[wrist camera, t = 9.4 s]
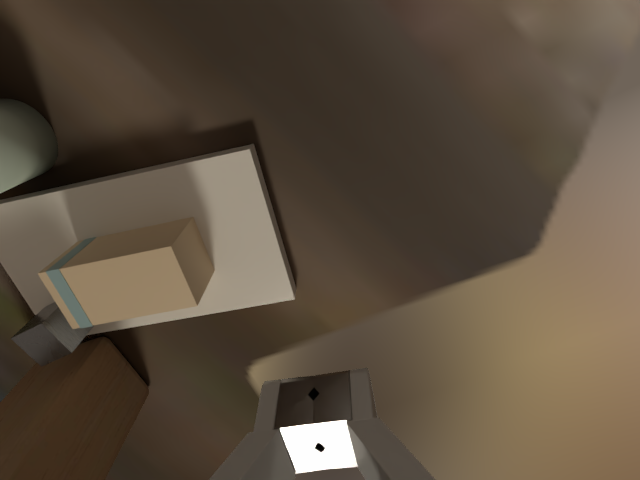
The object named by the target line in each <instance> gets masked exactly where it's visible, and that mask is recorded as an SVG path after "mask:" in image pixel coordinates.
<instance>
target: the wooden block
mask: <svg viewBox="0 0 640 480" xmlns="http://www.w3.org/2000/svg"><path fill="white" fill-rule="evenodd" d="M148 394H149V389H148V386H147V385H146V383H145V382H144V381H143V380H142V379H141V377H140V376H139V375H138V374H137V372H136V371H135V370H134V369H133V368H132V366H131V365H130V364H129V363H128V361H127V360H126V359H125V358H124V357H123V355H122V354H121V353H120V352H119V350H118V349H117V348H116V347H115V346H114V344H113V343H112V342H111V341H110V339H108V338H106V337H98V338H95V339H92V340H89V341H87V342H84V343H81V344H79V345H78V346H77V347H76V348H75V350H74V351H73V352H72V353H71V354H69V355H66V356H64V357H62V358H60V359H58V360H55V361H53V362H51V363H49V364H47V365H44V366H42V367H41V366H40V365H39V364H38V363H36V364H35V365H34V366H33V367H32V368H31V369H30V370H29V372H28V373H27V374H26V375H25V376H24V377H23V378H22V379H21V380H20V381H19V383H18V384H17V385H16V386H15V387H14V388H13V389H12V390H11V391H10V393H9V394H8V395H7V396H6V397H5V398H4V399H3V400H2V401H1V402H0V480H105V478H106V476H107V474H108V472H109V470H110V468H111V467H112V465H113V463H114V461H115V459H116V457H117V455H118V453H119V451H120V449H121V447H122V445H123V443H124V441H125V439H126V437H127V435H128V433H129V431H130V429H131V427H132V425H133V423H134V422H135V420H136V418H137V416H138V414H139V412H140V410H141V408H142V406H143V404H144V402H145V400H146V398H147V396H148Z"/></svg>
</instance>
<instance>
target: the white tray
mask: <svg viewBox="0 0 640 480" xmlns="http://www.w3.org/2000/svg"><path fill="white" fill-rule="evenodd" d="M190 217H194V220H195V222H196V225H197V227H198V230H199V232H200V235H201V237H202V240H203V242H204V245H205V247H206V250H207V252H208V255H209V257H210V260H211V262H212V265H213V267H214V270H215V271H214V273H213V275H212V277H211V280H210V282H209V284H208V286H207V288H206V290H205V292H204V294H203V296H202V298H201V300H200V302H199V304H198V306H196V307H190V308H185V309H179V310H174V311H169V312H163V313H158V314H152V315H147V316H141V317H136V318H131V319H125V320H120V321H114V322H109V323H104V324H98V325H94V327H93V328H92V329H91V330H90V332H89V333H88V334H87V335H91V334H97V333H102V332H108V331H114V330H120V329H126V328H131V327H137V326H143V325H149V324H155V323H160V322H166V321H172V320H178V319H184V318H189V317H195V316H201V315H207V314H213V313H218V312H224V311H230V310H236V309H242V308H247V307H253V306H259V305H265V304H271V303H276V302H282V301H288V300H294V299H295V295H296V286H295V282H294V279H293V276H292V272H291V269H290V265H289V262H288V259H287V255H286V252H285V248H284V245H283V242H282V238H281V235H280V231H279V228H278V225H277V221H276V218H275V214H274V211H273V208H272V204H271V201H270V197H269V194H268V191H267V187H266V184H265V180H264V177H263V174H262V170H261V167H260V163H259V160H258V157H257V153H256V150H255V146H254V144H250V145H246V146H241V147H237V148H232V149H228V150H223V151H219V152H214V153H210V154H205V155H201V156H196V157H192V158H187V159H183V160H178V161H174V162H169V163H165V164H160V165H155V166H151V167H146V168H142V169H137V170H133V171H128V172H124V173H119V174H115V175H110V176H106V177H101V178H97V179H92V180H88V181H83V182H79V183H74V184H70V185H65V186H61V187H56V188H52V189H47V190H43V191H38V192H34V193H29V194H25V195H20V196H16V197H11V198H7V199H2V200H0V263H1V264H2V266H3V267H4V269H5V270H6V272H7V273H8V275H9V276H10V278H11V279H12V281H13V282H14V284H15V285H16V287H17V288H18V290H19V292H20V293H21V295H22V296H23V298H24V299H25V301H26V302H27V304H28V305H29V307H30V308H31V310H32V311H33V313H34V314H35V315H37V314H38V313H39V312H40V311H41V310H42V309H43V308H44V307H46V306H48V305H50V304H52V303H54V302H55V301H54V299H53V297H52V296H51V294H50V293H49V291H48V289H47V288H46V286H45V285H44V283H43V281H42V280H41V278H40V277H39V275H38V273H39V272H40V271H41V270H43V269H44V268H45V267H46V266H48V265H49V264H50V263H51V262H53V261H54V260H55V259H56V258H58V257H59V256H60V255H61V254H63V253H64V252H65V251H66V250H68V249H69V248H70V247H71V246H73V245H74V244H75V243H76V242H77V241H82V240H85V239H88V238H93V237H101V236H105V235H110V234H115V233H120V232H124V231H129V230H134V229H138V228H143V227H148V226H153V225H157V224H162V223H167V222H171V221H176V220H181V219H186V218H190Z"/></svg>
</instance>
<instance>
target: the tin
mask: <svg viewBox="0 0 640 480" xmlns="http://www.w3.org/2000/svg"><path fill="white" fill-rule="evenodd" d="M93 327H94V325H93V326H92V327H86V328H77V329H72V327H71V326H70V324H69V323H68V321H67V320H66V318H65V316H64V315H63V313H62V312H61V310H60V308H59V307H58V305H57V304H56V302H54V303H52V304H50V305H48V306H46V307H44V308H43V309H42V310H41V311H40V312H39V313H38V314H37V315H35V316H34V317H33V318H32V319H31V320H30V321H29V322H28V323H27V324H26V325H25V326H24V327H23V328H22V329H21V330H19V331H18V332H17V333H16V334H15V335H14V336H13V337H12V338H11V339H12V340H13V341H14V342H15V343H16V344H17V345H19V346H20V347H21V348H22V349H23V350H24V351H25V352H26V353H27V354H28V355H29V356H30V357H32V358H33V359H34V360H35V361H36V362H37V363H38V364H39V365H40V366H41V367H42V366H44V365H47V364H49V363H51V362H53V361H55V360H58V359H60V358H62V357H64V356H66V355H69V354H71V353H72V352H73V351H74V350H75V348H76V347H77V346H78V345H79V344H80V342H81V341H82V340H83V339H84V338H85V336H86V335H87V334H88V333H89V332H90V330H91V329H92V328H93Z"/></svg>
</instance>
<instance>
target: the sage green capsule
mask: <svg viewBox="0 0 640 480" xmlns="http://www.w3.org/2000/svg"><path fill="white" fill-rule="evenodd" d="M57 156H58V143H57V139H56V136H55V134H54V131H53V129H52V128H51V126H50V124H49V123H48V122H47V120H46V119H45V118H44V117H43V116H42V115H41V114H40V113H39V112H38V111H36V110H35V109H34V108H32V107H31V106H29V105H27V104H25V103H23V102H20V101H18V100H14V99H0V193H2V192H4V191H7V190H9V189H11V188H13V187H15V186H17V185H19V184H22V183H24V182H26V181H28V180H30V179H32V178H34V177H37V176H39V175H41V174H43V173H45V172H47V171H48V170H50V169H51V168H52V167H53V165H54V164H55V162H56V160H57Z"/></svg>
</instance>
